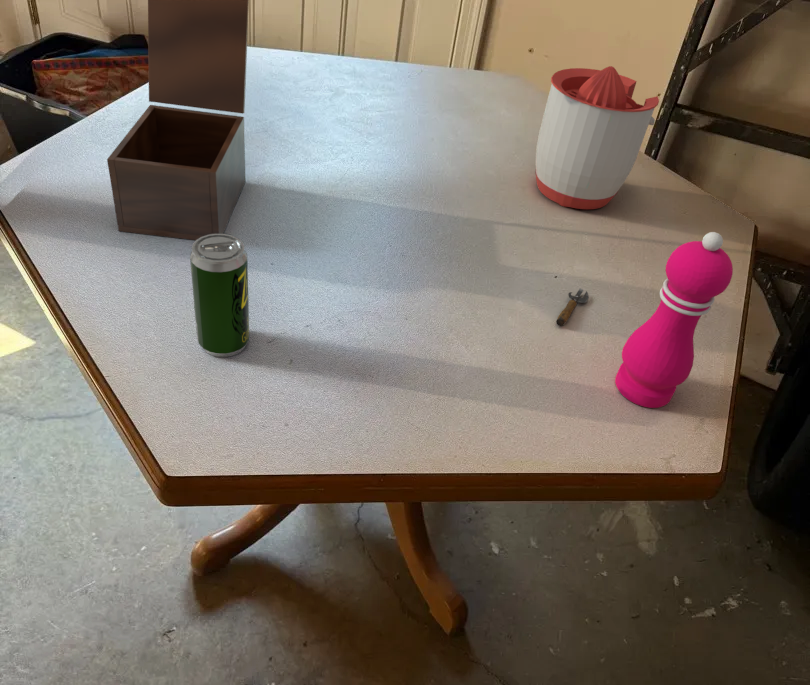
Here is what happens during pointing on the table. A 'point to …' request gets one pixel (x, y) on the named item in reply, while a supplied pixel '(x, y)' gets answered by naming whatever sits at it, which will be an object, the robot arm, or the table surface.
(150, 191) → the chest
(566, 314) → the can opener
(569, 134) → the citrus juicer
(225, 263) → the beer can
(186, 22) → the lid
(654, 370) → the pepper mill
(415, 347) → the table surface
